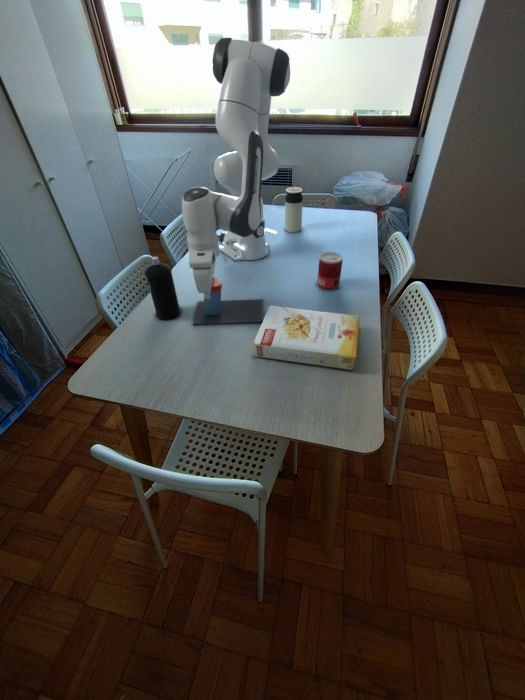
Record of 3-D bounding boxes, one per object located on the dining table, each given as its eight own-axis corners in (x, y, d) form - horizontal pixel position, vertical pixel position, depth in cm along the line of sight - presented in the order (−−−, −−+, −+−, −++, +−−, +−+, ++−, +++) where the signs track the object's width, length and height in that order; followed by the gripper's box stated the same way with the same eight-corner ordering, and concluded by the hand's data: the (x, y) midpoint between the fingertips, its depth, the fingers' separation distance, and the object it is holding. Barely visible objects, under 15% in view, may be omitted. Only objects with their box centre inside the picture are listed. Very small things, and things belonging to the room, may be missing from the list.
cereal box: (357, 356, 90) (252, 342, 95) (354, 372, 93) (252, 357, 99) (360, 313, 105) (268, 303, 110) (357, 328, 108) (268, 317, 114)
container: (202, 315, 113) (202, 285, 106) (204, 305, 118) (204, 276, 111) (220, 316, 114) (221, 287, 107) (221, 306, 118) (222, 277, 111)
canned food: (338, 291, 124) (342, 262, 117) (316, 289, 126) (318, 261, 119) (339, 280, 130) (343, 252, 123) (317, 278, 131) (320, 251, 124)
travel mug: (301, 232, 164) (303, 192, 152) (285, 232, 165) (285, 192, 153) (300, 225, 170) (302, 186, 158) (284, 226, 171) (285, 187, 159)
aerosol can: (185, 308, 119) (174, 253, 106) (173, 322, 113) (159, 266, 100) (164, 304, 121) (150, 250, 108) (151, 317, 115) (135, 262, 102)
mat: (193, 325, 112) (193, 324, 111) (198, 302, 121) (198, 301, 121) (262, 323, 111) (262, 321, 111) (261, 300, 121) (261, 299, 121)
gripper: (197, 234, 109) (203, 274, 119) (187, 265, 94) (195, 308, 103) (217, 234, 109) (222, 273, 119) (211, 264, 94) (217, 307, 103)
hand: (209, 289), depth 111 cm, fingers open, 8 cm apart
